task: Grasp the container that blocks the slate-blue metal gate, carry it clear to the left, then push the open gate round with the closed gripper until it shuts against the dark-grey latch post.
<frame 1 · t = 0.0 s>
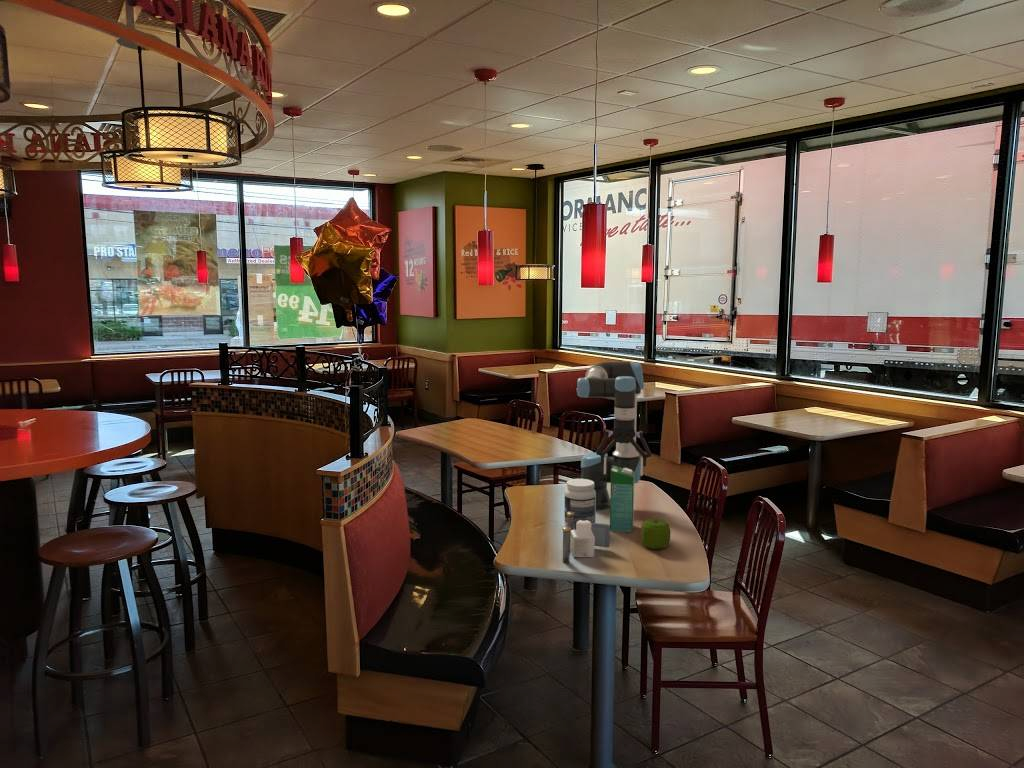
hand: (623, 474, 270), 28 cm above the table, fingers open, 13 cm apart
gate posts: (570, 545, 274), on the table
gate: (591, 533, 271), point 6 cm above the table, hinge at 80.0°
apple: (655, 547, 273), on the table
container: (581, 553, 266), on the table, touching gate posts
milk carton: (621, 528, 294), on the table
supplement tub: (579, 526, 297), on the table
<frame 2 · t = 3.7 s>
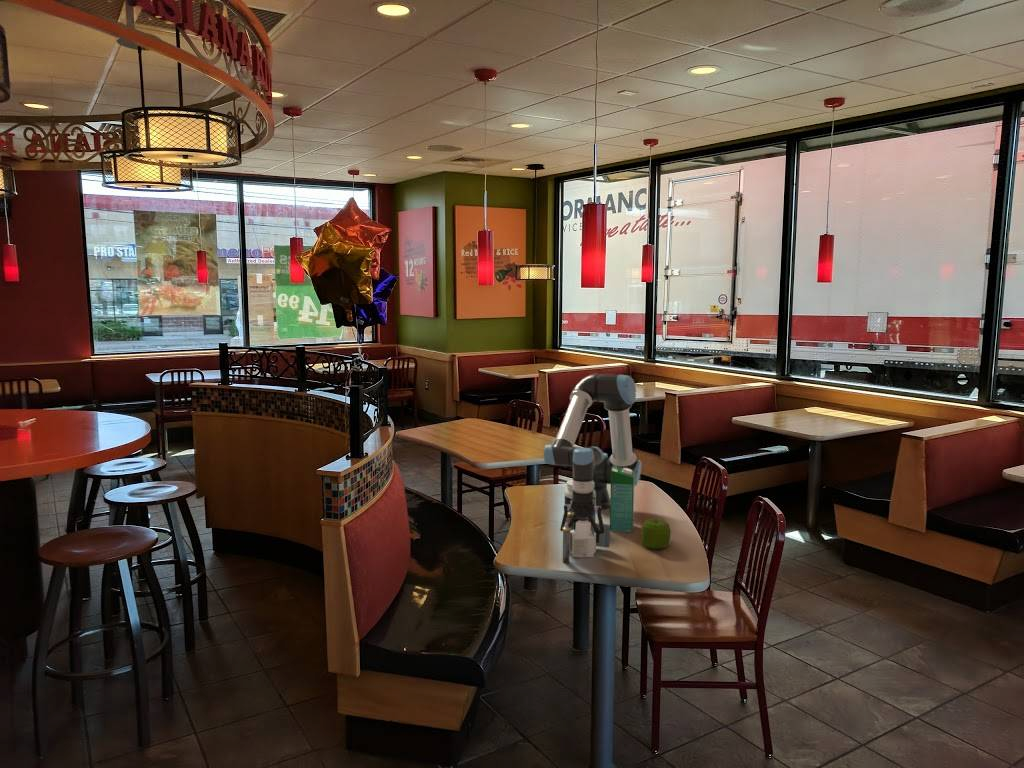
hand: (582, 550, 266), 1 cm above the table, fingers closed on container, 9 cm apart
container: (581, 553, 266), on the table, touching gate posts, gripper
everything else where it was.
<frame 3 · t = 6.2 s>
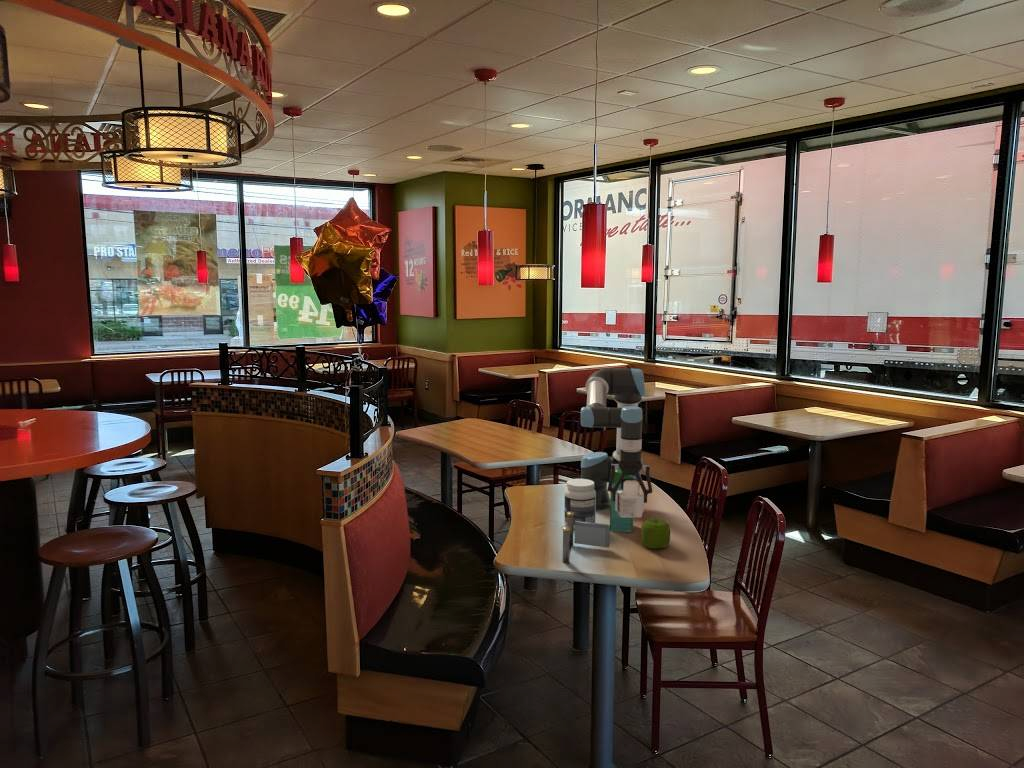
hand: (629, 510, 262), 17 cm above the table, fingers closed on container, 9 cm apart
container: (628, 514, 262), point 16 cm above the table, touching gripper
everything else where it was.
when the fingers open (3 cm above the table, at t = 9.2 s): container drops 2 cm, on the table.
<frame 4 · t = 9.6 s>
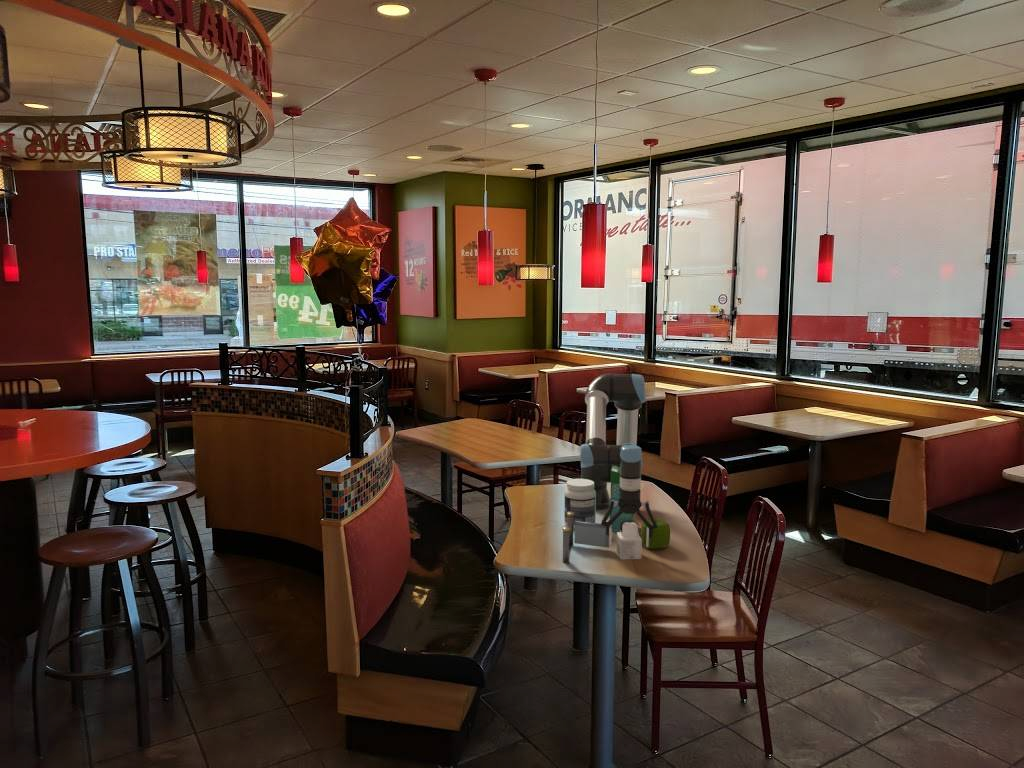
hand: (628, 544, 263), 4 cm above the table, fingers open, 13 cm apart
container: (628, 556, 264), on the table
everything else where it was.
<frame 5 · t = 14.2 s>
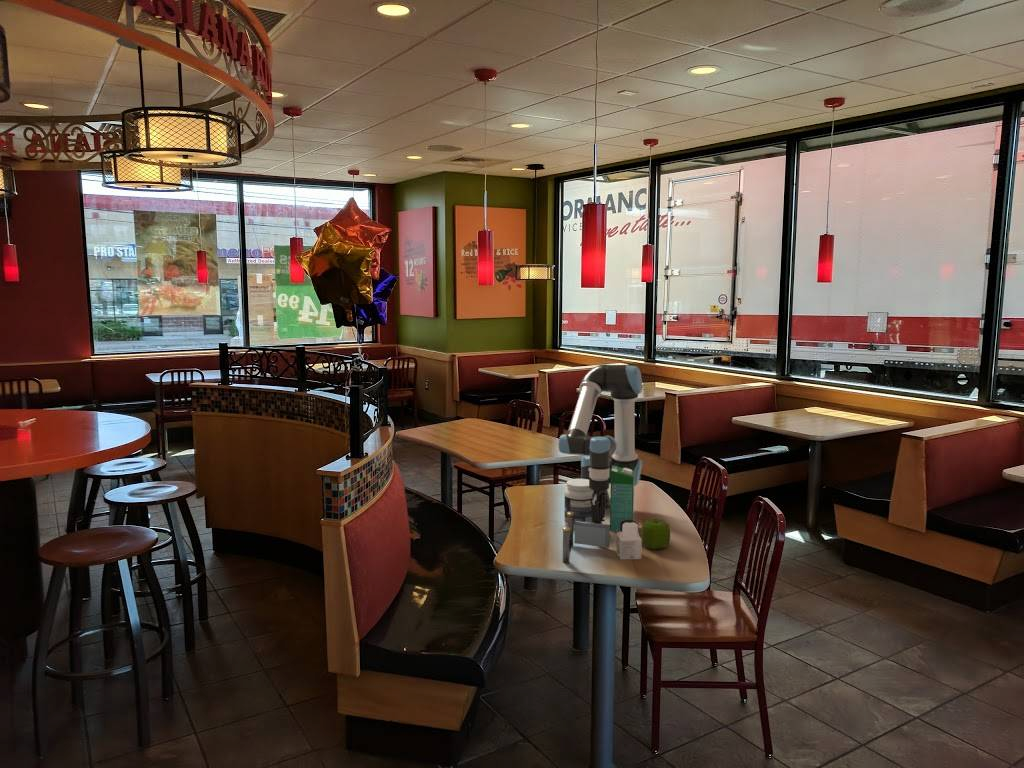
hand: (598, 538, 275), 3 cm above the table, fingers closed
gate: (591, 533, 271), point 6 cm above the table, hinge at 80.0°, touching gripper
everything else where it was.
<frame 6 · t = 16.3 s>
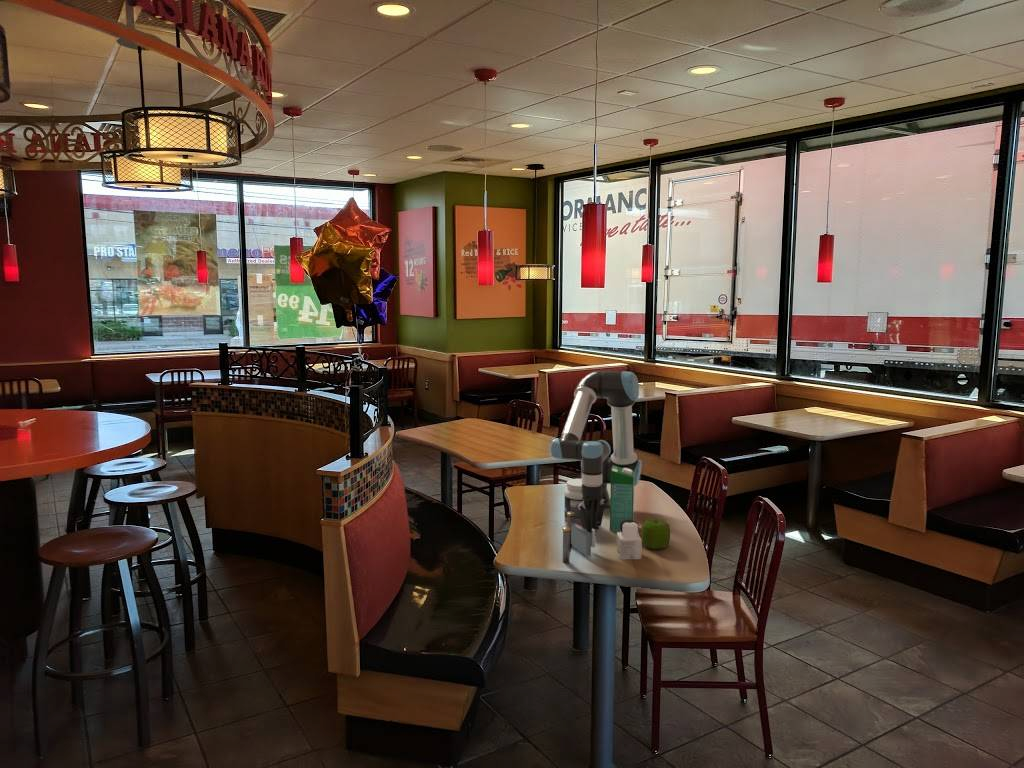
hand: (591, 545, 267), 2 cm above the table, fingers closed
gate: (580, 538, 266), point 6 cm above the table, hinge at 32.2°, touching gripper
everything else where it was.
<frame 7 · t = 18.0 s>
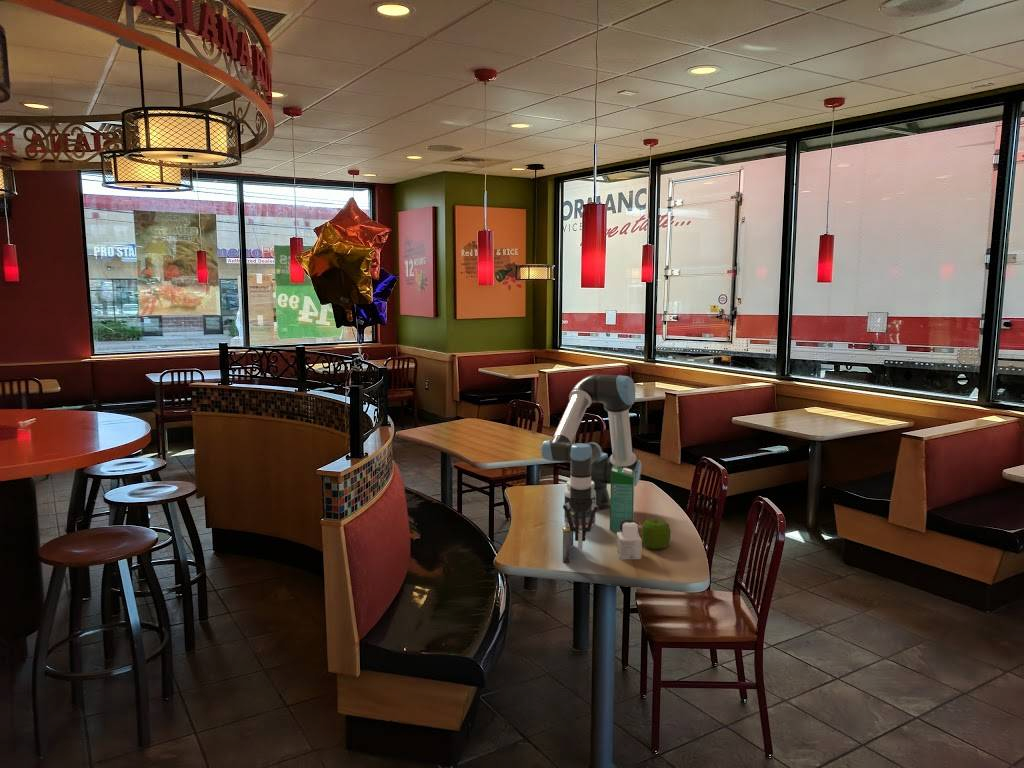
hand: (580, 549, 264), 2 cm above the table, fingers closed
gate: (569, 539, 265), point 6 cm above the table, hinge at 2.9°, touching gripper
everything else where it was.
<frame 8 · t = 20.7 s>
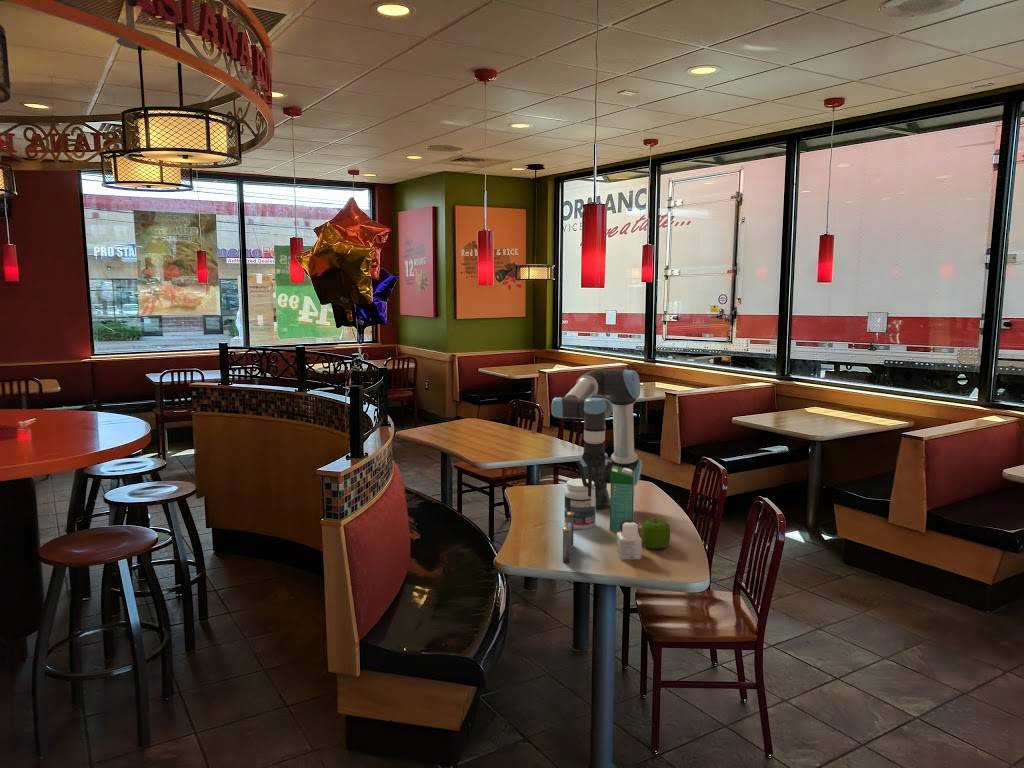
hand: (593, 505, 260), 19 cm above the table, fingers closed
gate: (569, 539, 265), point 6 cm above the table, hinge at 2.8°
everything else where it was.
at the end: gate at +3° (first picture: +80°); container inside the target area (0.9 cm from its centre), on the table; container tilted 0° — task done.
